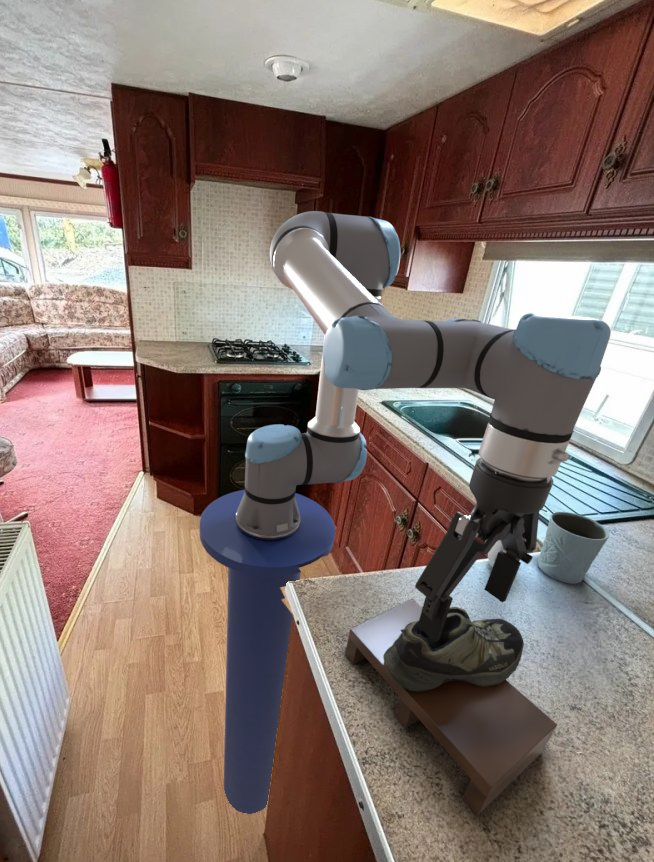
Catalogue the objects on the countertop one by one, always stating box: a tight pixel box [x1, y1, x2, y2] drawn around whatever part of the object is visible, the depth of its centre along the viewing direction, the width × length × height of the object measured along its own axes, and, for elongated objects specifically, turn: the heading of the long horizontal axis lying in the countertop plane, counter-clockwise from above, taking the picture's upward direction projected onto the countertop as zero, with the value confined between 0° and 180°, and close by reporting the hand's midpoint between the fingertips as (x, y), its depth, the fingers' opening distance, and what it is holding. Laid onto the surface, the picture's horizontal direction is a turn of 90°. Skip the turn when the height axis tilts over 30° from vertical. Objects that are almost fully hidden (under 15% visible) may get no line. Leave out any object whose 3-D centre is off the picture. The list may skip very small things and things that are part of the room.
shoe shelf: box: [344, 598, 558, 817], centre depth 58 cm, size 24×14×6 cm, turn 31°
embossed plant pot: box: [537, 511, 610, 585], centre depth 86 cm, size 10×10×12 cm
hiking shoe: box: [384, 606, 525, 692], centre depth 56 cm, size 8×21×9 cm, turn 107°
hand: (463, 612), depth 52 cm, fingers open, 13 cm apart
